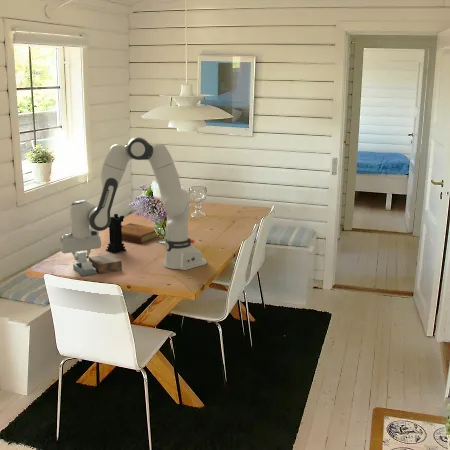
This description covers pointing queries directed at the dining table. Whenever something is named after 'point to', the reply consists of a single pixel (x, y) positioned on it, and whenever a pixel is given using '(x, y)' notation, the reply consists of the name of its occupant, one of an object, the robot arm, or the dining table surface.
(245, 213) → the dining table surface
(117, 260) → the square brown board
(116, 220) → the chess piece
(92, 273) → the tray
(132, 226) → the diary
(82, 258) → the white block
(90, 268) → the off-white small block
